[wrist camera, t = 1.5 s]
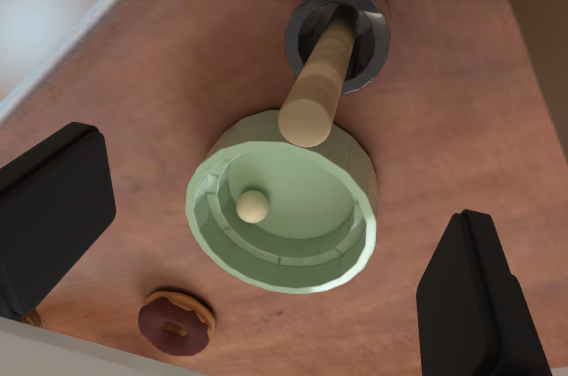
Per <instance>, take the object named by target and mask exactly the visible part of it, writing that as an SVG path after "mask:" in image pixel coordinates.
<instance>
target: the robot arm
mask: <svg viewBox="0 0 568 376" xmlns="http://www.w3.org/2000/svg"><path fill="white" fill-rule="evenodd" d="M115 215H116V206H115V200H114V194H113V188H112V182H111V176H110V169H109V163H108V157H107V151H106V145H105V139H104V136H103V134H101V133H99V130H98V128H97V127H95V126H92V125H87V124H83V123H78V122H71V123H69V124H68V125H66V126H65V127H63V128H62V129H60V130H59V131H57V132H56V133H54V134H53V135H51V136H50V137H48V138H46V139H45V140H43V141H42V142H40V143H39V144H37V145H36V146H34V147H33V148H31V149H30V150H28V151H27V152H25V153H24V154H22V155H21V156H19V157H18V158H16V159H15V160H13V161H11V162H10V163H8V164H7V165H5V166H4V167H2V168H1V169H0V376H210V375H206V374H203V373H199V372H196V371H192V370H189V369H185V368H182V367H178V366H175V365H171V364H168V363H164V362H160V361H157V360H153V359H150V358H146V357H143V356H139V355H136V354H132V353H129V352H125V351H121V350H118V349H114V348H111V347H107V346H104V345H100V344H97V343H93V342H90V341H86V340H82V339H79V338H75V337H71V336H68V335H64V334H61V333H57V332H53V331H50V330H46V329H43V328H39V327H35V326H32V325H28V324H25V323H21V322H18V321H19V320H20V318H21V317H22V316H23V315H24V314H25V315H26V314H29V313H31V312H32V311H33V310H34V309H35V308H36V307H37V306H38V305H39V303H40V302H41V301H42V300H43V299H44V298H45V297H46V296H47V294H48V293H49V292H50V291H51V290H52V289H53V288H54V287H55V285H56V284H57V283H58V282H59V281H60V280H61V279H62V278H63V277H64V275H65V274H66V273H67V272H68V271H69V270H70V269H71V268H72V266H73V265H74V264H75V263H76V262H77V261H78V260H79V259H80V258H81V256H82V255H83V254H84V253H85V252H86V251H87V250H88V249H89V247H90V246H91V245H92V244H93V243H94V242H95V241H96V240H97V238H98V237H99V236H100V235H101V234H102V233H103V232H104V231H105V230H106V228H107V227H108V226H109V225H110V224H111V223H112V221H113V220H114V218H115ZM416 301H417V314H418V327H419V340H420V353H421V366H422V376H552V373H551V370H550V367H549V365H548V362H547V359H546V356H545V353H544V351H543V348H542V345H541V342H540V340H539V337H538V334H537V331H536V328H535V326H534V323H533V320H532V317H531V315H530V312H529V309H528V306H527V303H526V301H525V298H524V295H523V292H522V290H521V287H520V284H519V282H518V280H517V278H516V277H515V276H514V275H512V274H511V272H510V269H509V266H508V263H507V261H506V258H505V255H504V252H503V249H502V246H501V243H500V240H499V238H498V235H497V232H496V229H495V226H494V223H493V220H492V218H491V216H490V215H489V214H485V213H480V212H476V211H471V210H467V209H465V210H463V211H462V212H461V214H458V213H455V214H454V215H453V216H452V217H451V219H450V221H449V223H448V226H447V228H446V230H445V232H444V234H443V236H442V238H441V240H440V242H439V244H438V246H437V248H436V250H435V252H434V254H433V256H432V258H431V260H430V262H429V264H428V266H427V268H426V270H425V272H424V274H423V276H422V278H421V280H420V282H419V285H418V288H417V293H416Z"/></svg>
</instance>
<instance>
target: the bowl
mask: <svg viewBox="0 0 568 376" xmlns="http://www.w3.org/2000/svg"><path fill="white" fill-rule="evenodd" d="M279 111H280V110H268V111H264V112H261V113H258V114H255V115H252V116H248V117H245V118H243V119H241V120H239V121H238V122H237V123H236V124H234V125H233V126H232V127H230V128H229V129H228V130H227V131H225V132H224V133H223V134H222V135H221V136H220V138H219V139H218V140H217V142H216V143H215V144H214V146H213V147H212V148H211V150H210V151H209V152H208V154H207V155H206V156H205V158H204V159H203V160H202V162H201V163H200V164H199V166H198V168H197V169H196V171H195V173H194V175H193V176H192V178H191V180H190V182H189V184H188V185H187V193H186V204H185V211H186V215H187V218H188V222H189V225H190V229H191V231H192V234H193V235H194V237H195V238H196V240H197V241H198V243H199V244H200V246H201V247H202V249H203V250H204V252H205V253H206V254H207V255H208V256H209V257H210V258H212V259H213V260H214V261H215V262H216V263H217V264H218V265H219V266H220V267H221V268H222V269H224V270H225V271H227V272H229V273H230V274H232V275H234V276H236V277H237V278H239V279H241V280H243V281H244V282H247V283H249V284H252V285H255V286H258V287H261V288H264V289H267V290H270V291H274V292H283V293H292V294H304V293H313V292H322V291H326V290H329V289H331V288H334V287H336V286H339V285H341V284H344V283H346V282H348V281H349V280H350V279H351V278H352V277H354V276H355V275H356V274H357V273H358V272H360V271H361V270H362V269H363V268H364V267H365V265H366V263H367V261H368V260H369V258H370V256H371V254H372V252H373V250H374V248H375V244H376V229H377V207H378V181H377V178H376V174H375V171H374V168H373V165H372V162H371V160H370V158H369V157H368V155H367V154H366V153H365V151H364V150H363V149H362V148H361V146H360V145H359V144H358V143H357V141H356V140H355V139H354V137H352V136H351V135H349V134H348V133H346V132H345V131H343V130H342V129H340V128H339V127H337V126H336V125H335V124H332V127H331V131H330V133H329V135H328V137H327V138H326V139H325V140H324V141H323V142H322V143H320V144H318V145H316V146H312V147H300V146H297V145H294V144H292V143H291V142H289V141H288V140H287V139H286V138H285V137H284V136H283V135H282V133H281V131H280V129H279V126H278V114H279ZM250 190H255V191H259V192H261V193H262V194H263V195H264V196H265V197H266V198H267V200H268V203H269V210H268V213H267V215H266V217H265V218H264V219H263V220H261V221H259V222H256V223H248V222H246V221H244V220H242V219H241V218H240V217H239V215H238V213H237V210H236V203H237V200H238V198H239V197H240V196H241V195H242V194H243V193H244V192H247V191H250Z"/></svg>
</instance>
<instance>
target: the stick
mask: <svg viewBox="0 0 568 376" xmlns="http://www.w3.org/2000/svg"><path fill="white" fill-rule="evenodd" d="M358 27H359V19H358V16H357V14H356V13H355V12H354V11H353V10H351V9H349V8H341V9H338V10H337V11H335V12H334V13H333V15H332V16H331V18H330V20H329V22H328V24H327V26H326V27H325V29H324V31H323V33H322V35H321V36H320V38H319V40H318V42H317V44H316V46H315V47H314V49H313V51H312V53H311V55H310V57H309V58H308V60H307V62H306V64H305V66H304V67H303V69H302V71H301V73H300V75H299V77H298V78H297V80H296V82H295V84H294V86H293V87H292V89H291V91H290V93H289V95H288V97H287V98H286V100H285V102H284V104H283V106H282V108H281V109H280V111H279V114H278V126H279V129H280V131H281V133H282V135H283V136H284V137H285V138H286V139H287V140H288V141H289V142H291V143H292V144H294V145H297V146H300V147H312V146H316V145H318V144H320V143H322V142H323V141H324V140H325V139H326V138H327V137H328V135H329V133H330V131H331V127H332V124H333V120H334V116H335V113H336V109H337V105H338V101H339V98H340V94H341V90H342V86H343V83H344V79H345V75H346V72H347V68H348V64H349V60H350V57H351V53H352V49H353V45H354V42H355V38H356V34H357V31H358Z"/></svg>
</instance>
